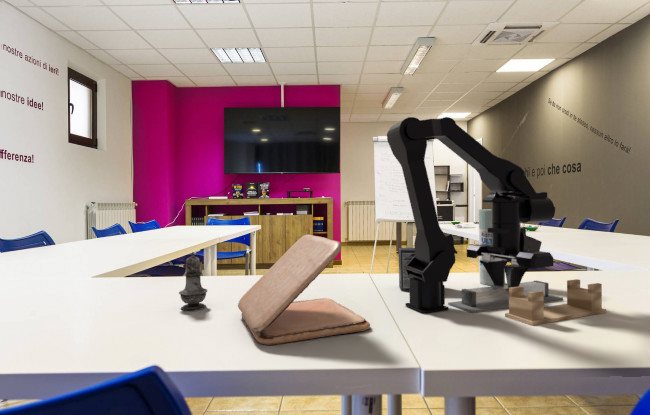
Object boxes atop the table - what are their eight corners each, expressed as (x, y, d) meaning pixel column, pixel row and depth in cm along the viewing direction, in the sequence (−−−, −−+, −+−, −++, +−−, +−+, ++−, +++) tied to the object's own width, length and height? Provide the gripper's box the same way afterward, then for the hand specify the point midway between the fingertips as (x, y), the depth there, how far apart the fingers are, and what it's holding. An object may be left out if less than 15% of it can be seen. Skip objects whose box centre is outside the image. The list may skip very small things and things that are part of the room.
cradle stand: (532, 325, 69) (531, 293, 69) (504, 316, 74) (504, 287, 74) (606, 312, 76) (605, 284, 76) (576, 305, 82) (576, 278, 82)
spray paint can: (478, 285, 103) (478, 209, 103) (479, 280, 109) (479, 209, 109) (505, 286, 100) (505, 209, 100) (505, 282, 106) (504, 209, 106)
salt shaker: (173, 309, 82) (172, 253, 82) (194, 303, 88) (193, 250, 87) (193, 312, 80) (192, 254, 80) (213, 306, 85) (212, 251, 85)
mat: (471, 312, 77) (471, 310, 77) (448, 304, 84) (448, 302, 84) (562, 299, 87) (562, 297, 87) (535, 292, 93) (535, 291, 93)
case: (236, 315, 79) (234, 236, 78) (332, 304, 86) (331, 231, 86) (254, 351, 59) (252, 247, 59) (376, 333, 67) (375, 240, 67)
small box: (439, 286, 102) (438, 246, 102) (444, 291, 96) (443, 249, 96) (398, 286, 103) (398, 246, 103) (400, 291, 97) (400, 249, 97)
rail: (472, 307, 80) (472, 292, 80) (461, 303, 82) (461, 289, 82) (548, 296, 88) (548, 282, 88) (536, 293, 91) (536, 280, 91)
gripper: (572, 224, 79) (572, 300, 79) (500, 220, 97) (500, 283, 97) (532, 225, 75) (533, 306, 75) (464, 222, 92) (465, 287, 93)
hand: (506, 294), depth 85 cm, fingers closed on rail, 3 cm apart
